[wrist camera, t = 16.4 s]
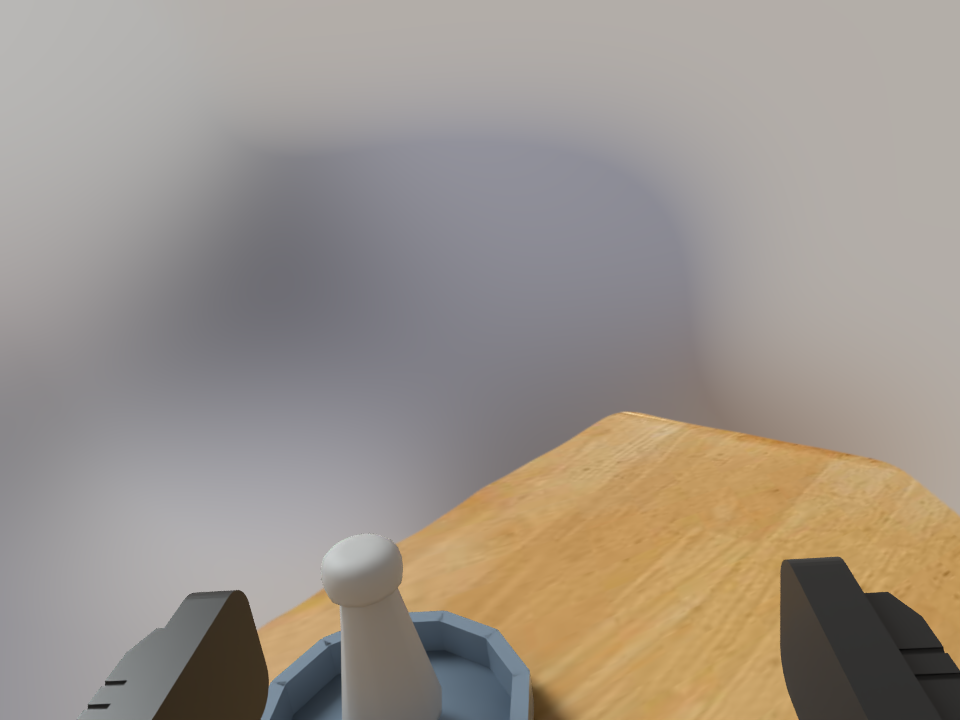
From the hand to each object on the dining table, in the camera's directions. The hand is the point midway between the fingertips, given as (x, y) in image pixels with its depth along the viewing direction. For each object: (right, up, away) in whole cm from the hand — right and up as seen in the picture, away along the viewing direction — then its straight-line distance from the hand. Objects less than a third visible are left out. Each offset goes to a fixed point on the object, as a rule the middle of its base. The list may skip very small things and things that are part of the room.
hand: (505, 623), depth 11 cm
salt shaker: (-5, -18, +33) cm, 38 cm away
